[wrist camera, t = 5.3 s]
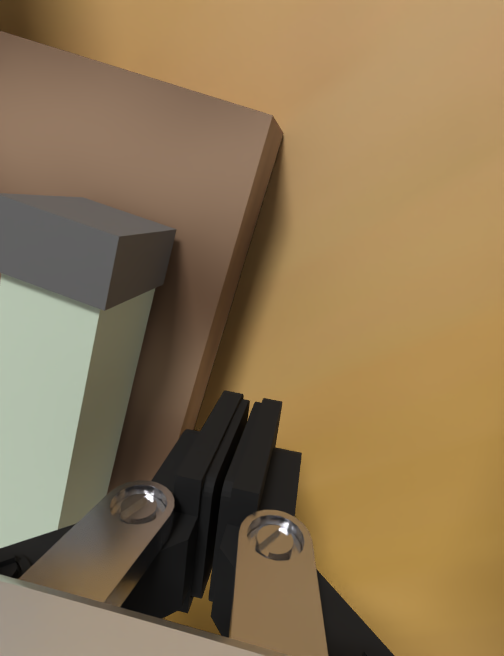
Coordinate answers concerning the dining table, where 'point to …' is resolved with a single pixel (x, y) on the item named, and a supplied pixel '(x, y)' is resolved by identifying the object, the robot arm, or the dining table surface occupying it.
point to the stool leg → (68, 350)
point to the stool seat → (145, 207)
